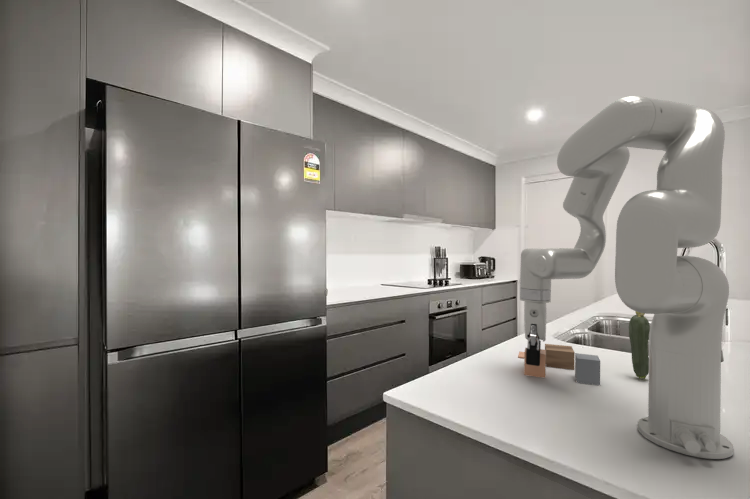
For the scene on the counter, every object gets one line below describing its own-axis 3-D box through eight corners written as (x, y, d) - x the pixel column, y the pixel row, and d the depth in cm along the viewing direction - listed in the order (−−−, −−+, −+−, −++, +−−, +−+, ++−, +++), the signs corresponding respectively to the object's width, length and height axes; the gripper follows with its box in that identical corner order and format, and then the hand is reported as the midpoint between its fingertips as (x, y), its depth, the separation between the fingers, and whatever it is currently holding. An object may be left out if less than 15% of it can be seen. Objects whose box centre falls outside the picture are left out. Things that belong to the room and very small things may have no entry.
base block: (574, 370, 100) (574, 352, 100) (546, 367, 103) (546, 349, 103) (571, 363, 106) (571, 346, 106) (544, 360, 109) (544, 343, 109)
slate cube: (600, 385, 89) (600, 360, 89) (576, 382, 91) (576, 358, 91) (597, 379, 93) (597, 355, 93) (575, 376, 95) (575, 353, 95)
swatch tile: (539, 360, 108) (539, 359, 108) (518, 357, 111) (518, 356, 111) (540, 355, 114) (540, 353, 114) (519, 352, 116) (519, 351, 116)
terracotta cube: (545, 378, 94) (545, 354, 94) (524, 375, 96) (524, 352, 96) (545, 372, 98) (545, 349, 98) (525, 369, 100) (525, 347, 100)
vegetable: (649, 383, 90) (649, 302, 90) (627, 379, 93) (628, 300, 93) (649, 378, 94) (650, 300, 94) (628, 374, 96) (629, 298, 96)
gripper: (551, 301, 88) (549, 372, 88) (550, 292, 103) (548, 352, 104) (517, 298, 91) (515, 367, 91) (521, 290, 107) (520, 349, 107)
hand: (533, 359), depth 98 cm, fingers open, 9 cm apart
